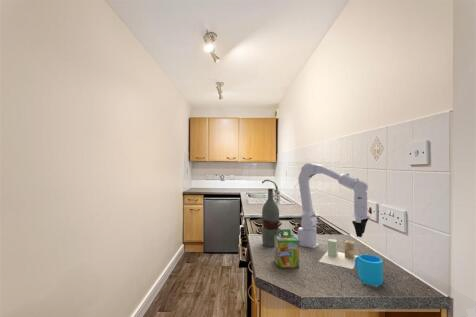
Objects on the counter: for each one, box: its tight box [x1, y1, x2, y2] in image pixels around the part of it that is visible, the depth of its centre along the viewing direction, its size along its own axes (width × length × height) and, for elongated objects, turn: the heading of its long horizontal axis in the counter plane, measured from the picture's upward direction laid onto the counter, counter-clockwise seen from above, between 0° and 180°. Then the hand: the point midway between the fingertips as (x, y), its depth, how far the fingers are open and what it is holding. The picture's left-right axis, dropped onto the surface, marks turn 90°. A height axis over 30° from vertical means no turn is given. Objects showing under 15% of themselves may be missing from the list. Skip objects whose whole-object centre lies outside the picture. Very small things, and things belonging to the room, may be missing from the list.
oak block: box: [344, 239, 355, 259], centre depth 114 cm, size 4×4×7 cm
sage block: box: [327, 238, 339, 257], centre depth 116 cm, size 4×4×7 cm
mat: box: [318, 250, 359, 270], centre depth 112 cm, size 14×17×1 cm
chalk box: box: [273, 228, 300, 269], centre depth 108 cm, size 9×9×15 cm
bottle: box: [261, 188, 280, 248], centre depth 133 cm, size 9×9×30 cm
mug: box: [355, 254, 384, 287], centre depth 95 cm, size 12×8×8 cm
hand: (360, 234), depth 117 cm, fingers open, 7 cm apart
